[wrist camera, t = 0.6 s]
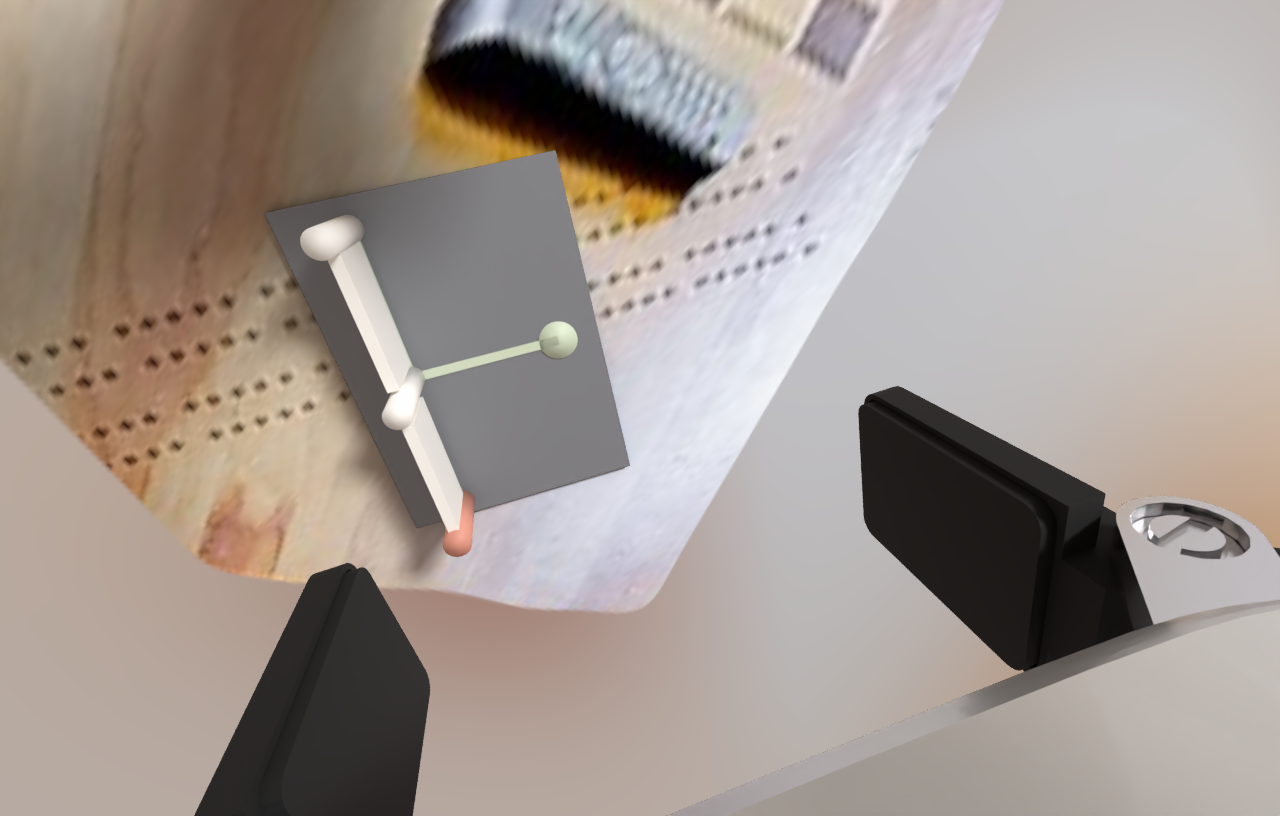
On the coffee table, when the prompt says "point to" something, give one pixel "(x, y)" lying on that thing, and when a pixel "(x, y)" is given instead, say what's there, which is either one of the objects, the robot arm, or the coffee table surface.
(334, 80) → the coffee table surface
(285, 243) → the card
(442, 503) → the fence swing section
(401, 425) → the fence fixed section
